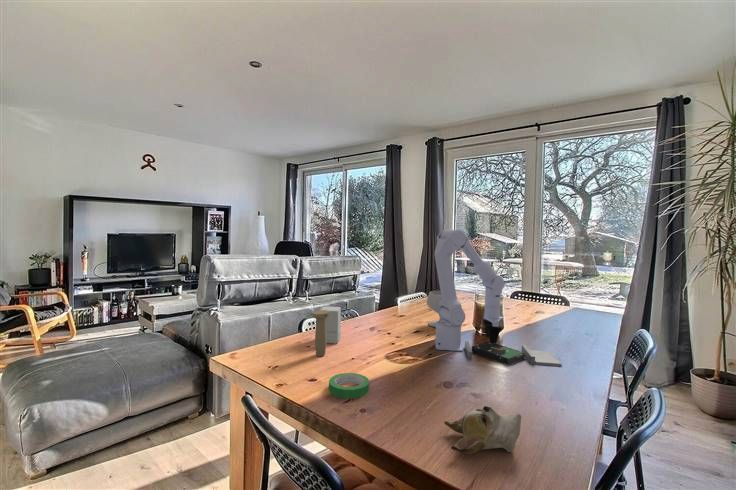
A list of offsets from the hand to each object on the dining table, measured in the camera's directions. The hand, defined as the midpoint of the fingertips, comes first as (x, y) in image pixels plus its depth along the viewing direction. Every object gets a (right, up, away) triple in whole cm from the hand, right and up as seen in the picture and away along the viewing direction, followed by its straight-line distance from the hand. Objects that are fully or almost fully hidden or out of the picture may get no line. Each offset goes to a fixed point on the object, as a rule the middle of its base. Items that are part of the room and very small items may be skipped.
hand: (491, 340), depth 139 cm
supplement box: (-63, 0, 0) cm, 63 cm away
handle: (-64, -1, -16) cm, 66 cm away
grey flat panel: (+2, -2, -13) cm, 14 cm away
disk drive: (-2, -3, -13) cm, 13 cm away
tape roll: (-53, -3, -41) cm, 67 cm away
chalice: (-14, 0, +25) cm, 28 cm away
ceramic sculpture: (-24, -5, -66) cm, 70 cm away
